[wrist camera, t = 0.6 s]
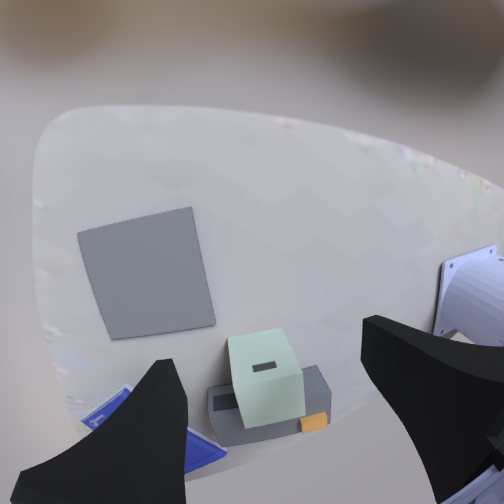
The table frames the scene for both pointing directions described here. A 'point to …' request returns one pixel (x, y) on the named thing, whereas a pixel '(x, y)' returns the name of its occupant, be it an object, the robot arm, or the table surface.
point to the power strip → (234, 433)
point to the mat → (148, 274)
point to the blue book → (197, 444)
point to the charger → (266, 378)
